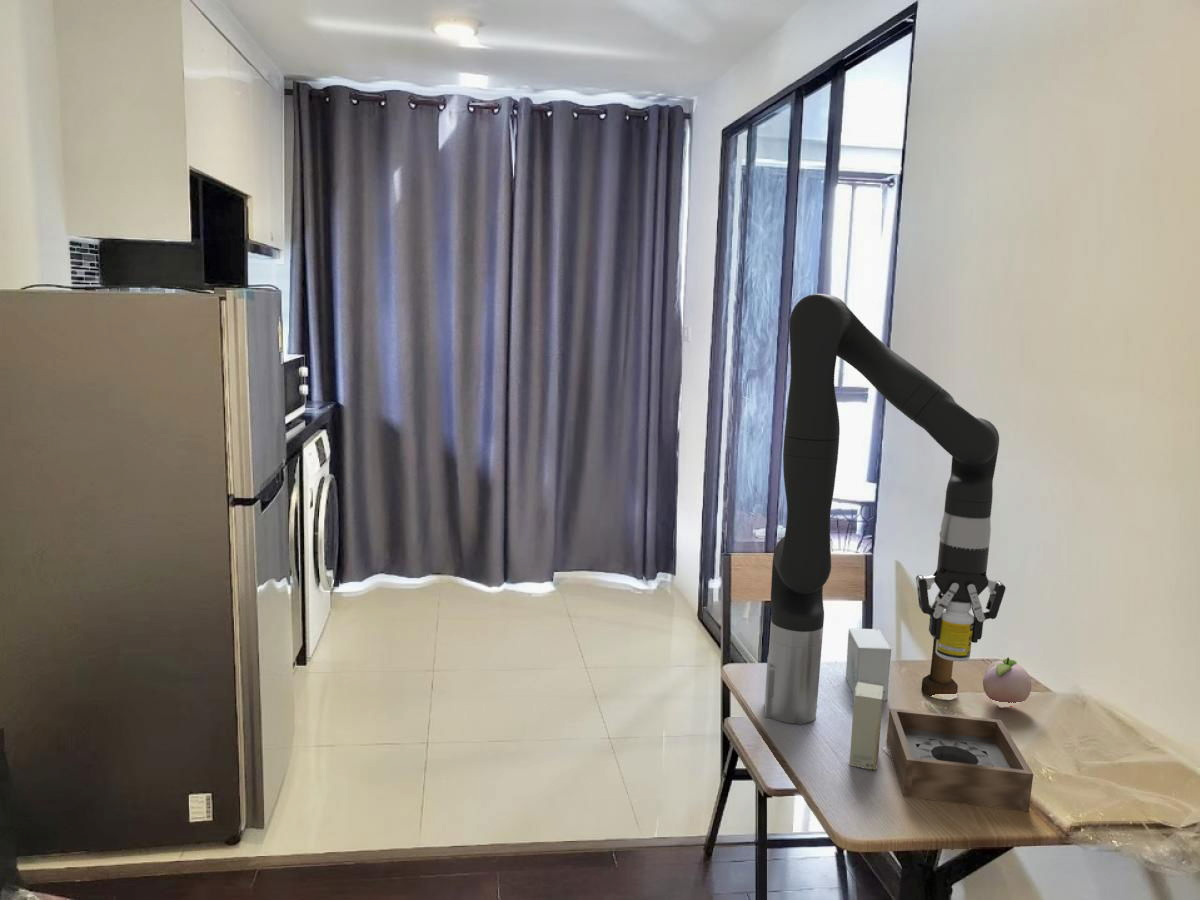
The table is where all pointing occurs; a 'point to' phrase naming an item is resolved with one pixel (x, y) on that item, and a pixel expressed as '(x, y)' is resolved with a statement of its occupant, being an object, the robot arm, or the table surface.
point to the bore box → (958, 760)
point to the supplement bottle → (955, 632)
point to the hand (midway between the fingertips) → (954, 639)
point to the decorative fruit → (1007, 682)
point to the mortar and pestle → (939, 676)
